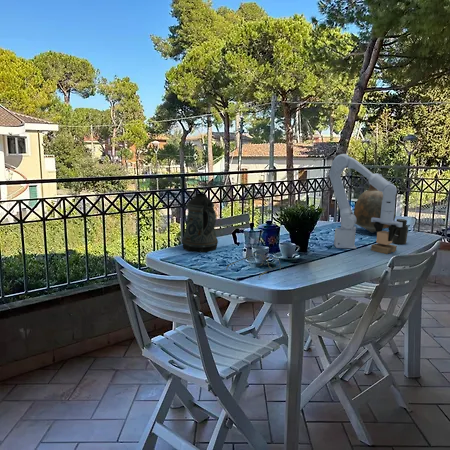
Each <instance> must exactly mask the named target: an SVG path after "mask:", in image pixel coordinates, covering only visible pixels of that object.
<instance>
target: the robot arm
mask: <svg viewBox="0 0 450 450" xmlns="http://www.w3.org/2000/svg"><path fill="white" fill-rule="evenodd" d="M346 168H347V169H352V170H354V171H356V172H358V173H359V174H360V175H362V176H363V177H365V179H368V184H369V185H370V184H371V185H372V186H373V187H375V188H376V189H377V190H378V191H380V192H382V193H383V200H382V206H381V216H380V218H374V217H373V218H371V222H375V224H374V227H375V229H376V232H375V233H376V234H377V232H379V231H383V230H384V229H383V225H384V224H387V225H391V226H388V228H387V229H388V232H389V237H388V241H392V239H393V236H394V234H395V232H396V231H397V229H398V228H399V227H402V225H403V223H402V222H398V221H397V220H395V221H394V220H393V219H394V210H395V211H396V195H397V194H398V193H397V192H398V190H397V189H398V188H397V187H396V185H395V184H394V183H392V182H391V180H389V181H388V180H387V179H386V178H384V177H383V174H382V173H378V172H376V173H373V172H372V171H371V170H369V169H368V168H367V167H366V166H364V165H363V164H362V163H361V162H359V161H358V160H357V159H356V158H353V157H352V156H350V155H349V154H347V153H341V154H338V155H336V156H335V157H334V159H333V160H332V162H331V167H330V169H329V174H328V176H329V179H330V182H331V186H332V189H333V192H334V196H335V199H336V202H337V204H338V205H337V206H338V207H339V216H340V226H339V227H336V228H335V230H334V240H333V245H334V246H335V248H336V249H353V250H355V249H357V246H356V245H355V242H356V233H357V232H356V230H357V227H356V226H355V225H356V224H355V223H356V221H357V219H356V216H355V215H354V211H353V210H352V208H351V206H350V203H349V199H348V196H347V193H346V190H345V187H344V183H343V180H342V177H341V176H342V174H343V172H344V171H345V169H346Z"/></svg>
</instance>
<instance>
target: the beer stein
mask: <svg viewBox="0 0 450 450" xmlns="http://www.w3.org/2000/svg"><path fill="white" fill-rule="evenodd" d="M186 208H187V216H186V217H187V218H186V224H185V231H184V235H183V237H182V239H181V245H182V247H183V250H185V251H186V252H187V251H188V252H192V253H207V252H208V253H209V252H210V253H211V252H213V251H215V250H217V247H218V244H219V243H218V242H219V241H218V240H219V239H218V237H217V235H216V228H215V225H216V221H217V212H216V211H215V204H214V202H213V201H212V200H211V199H210V198H209V197H208V196H207V194H205V193H196V195H194V197H193V198H192V199H190V200H189V201H188V202H187V203H186Z"/></svg>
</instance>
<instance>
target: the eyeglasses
mask: <svg viewBox="0 0 450 450" xmlns="http://www.w3.org/2000/svg"><path fill="white" fill-rule="evenodd" d="M253 254H255V255H258V256H261V258H262V259H264V255H263V254H257V253H254V252H253V253H250V255H253ZM250 255H248V256H245V257H243V258H241V259H239V260H237V261H234V262H232V263H230V264H227V265H226V271H228V267H229V266H232V265H234V264H237V262H238V263H239V262H240V261H243V260H245V259H248V260H247V261H248V263H249V264H251V262H250ZM265 258H266V260H267V261H269V259H273V260H274V259H275V260H277V262H278V265H277V266H275V267H273V268H271V266H270V264H269V263H267V265H268V268H270V269H269V270H267V271H265V272H263V273H261V274H259V276H258V279H259V278H260V279H261V276H262V275H264V274H266V273H268V272H270V271H272V270H274V269H277V268H278V267H279V269H281V268H282V267H281V263H280V260H279V259H277V258H274V257H270V256H269V257H268V256H267V255H265ZM263 264H264V262H262V263H261V265H263Z"/></svg>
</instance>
